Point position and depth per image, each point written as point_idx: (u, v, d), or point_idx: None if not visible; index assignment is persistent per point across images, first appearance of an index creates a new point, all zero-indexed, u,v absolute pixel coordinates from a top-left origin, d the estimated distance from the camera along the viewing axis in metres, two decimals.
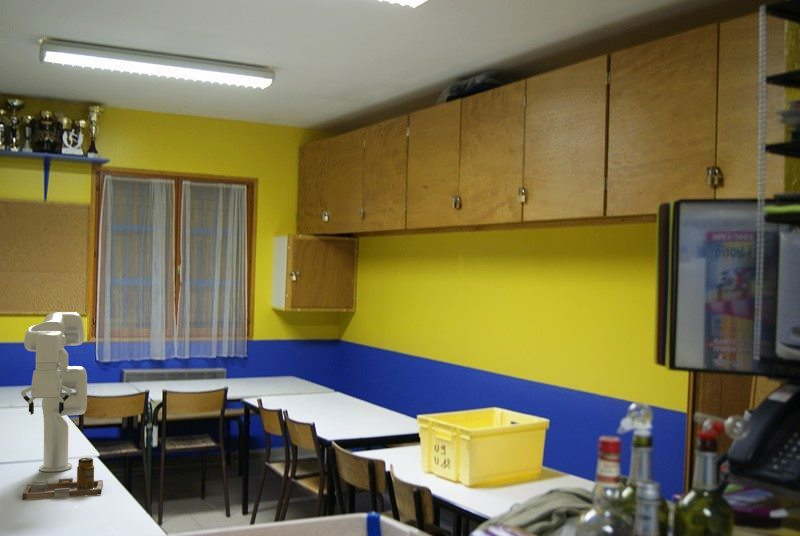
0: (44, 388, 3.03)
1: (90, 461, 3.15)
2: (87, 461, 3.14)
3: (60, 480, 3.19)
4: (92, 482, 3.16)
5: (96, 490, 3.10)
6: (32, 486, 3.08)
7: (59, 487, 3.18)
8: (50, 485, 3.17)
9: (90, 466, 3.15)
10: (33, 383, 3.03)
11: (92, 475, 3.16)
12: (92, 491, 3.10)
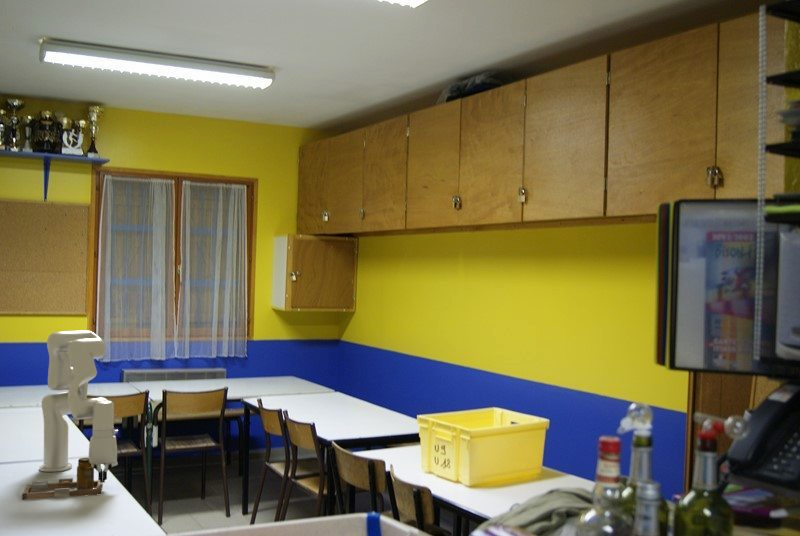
0: (101, 454, 3.15)
1: None
2: (87, 461, 3.14)
3: (60, 480, 3.19)
4: (92, 482, 3.16)
5: (96, 490, 3.10)
6: (32, 486, 3.08)
7: (59, 487, 3.18)
8: (50, 485, 3.17)
9: (90, 466, 3.15)
10: (90, 450, 3.14)
11: (92, 475, 3.16)
12: (92, 491, 3.10)
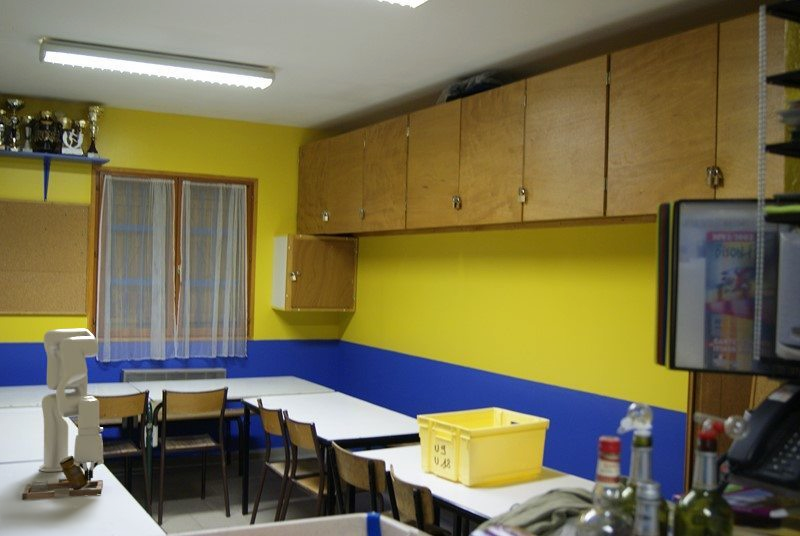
0: (87, 453, 3.13)
1: (70, 459, 3.12)
2: (67, 461, 3.11)
3: (60, 480, 3.19)
4: (82, 476, 3.14)
5: (96, 490, 3.10)
6: (32, 486, 3.08)
7: (59, 487, 3.18)
8: (50, 485, 3.17)
9: (72, 464, 3.12)
10: (76, 448, 3.12)
11: (79, 470, 3.14)
12: (92, 491, 3.10)
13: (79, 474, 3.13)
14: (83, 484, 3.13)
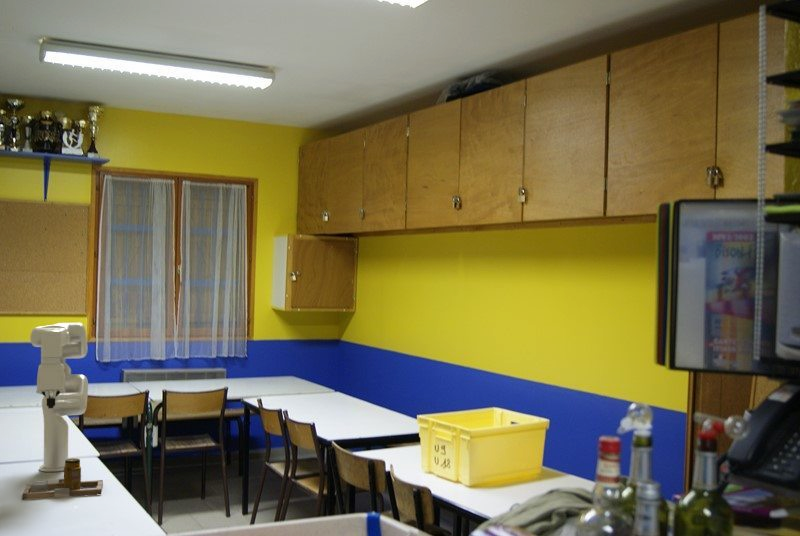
0: (49, 381, 3.25)
1: (76, 462, 3.14)
2: (73, 462, 3.13)
3: (60, 480, 3.19)
4: (79, 483, 3.14)
5: (96, 490, 3.10)
6: (32, 486, 3.08)
7: (59, 487, 3.18)
8: (50, 485, 3.17)
9: (76, 467, 3.13)
10: (39, 376, 3.24)
11: (78, 476, 3.14)
12: (92, 491, 3.10)
13: (77, 479, 3.13)
14: None
